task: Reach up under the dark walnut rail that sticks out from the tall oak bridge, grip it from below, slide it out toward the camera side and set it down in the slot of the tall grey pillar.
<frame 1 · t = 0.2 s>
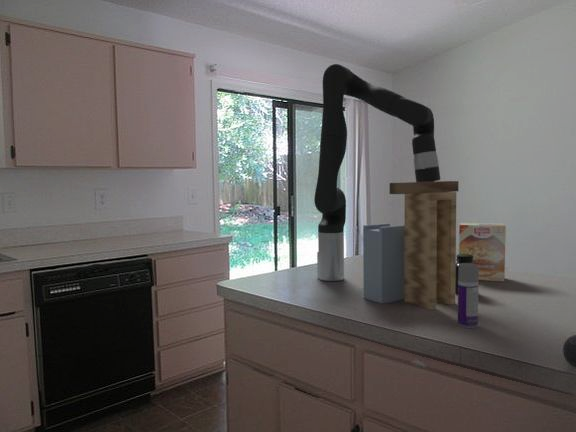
hand: (432, 217, 146), 23 cm above the worktop, tool pointing down, fingers open, 8 cm apart
container: (467, 325, 112), on the worktop
tall grey pillar: (385, 298, 138), on the worktop
rail: (425, 192, 128), point 32 cm above the worktop, touching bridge
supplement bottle: (464, 293, 142), on the worktop
coffeecake box: (481, 278, 162), on the worktop
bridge: (429, 302, 132), on the worktop
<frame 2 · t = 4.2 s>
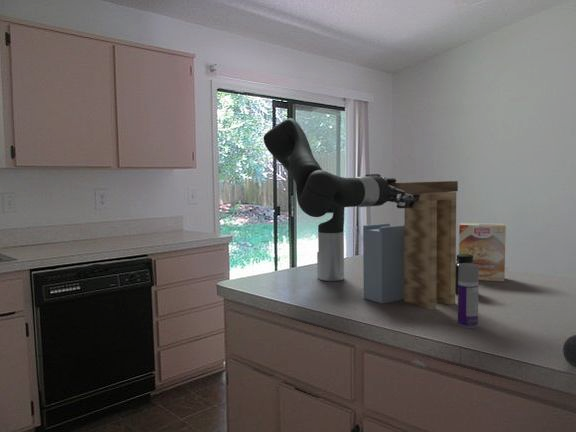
hand: (405, 189, 123), 33 cm above the worktop, tool horizontal, fingers open, 8 cm apart
nothing on the worktop moved.
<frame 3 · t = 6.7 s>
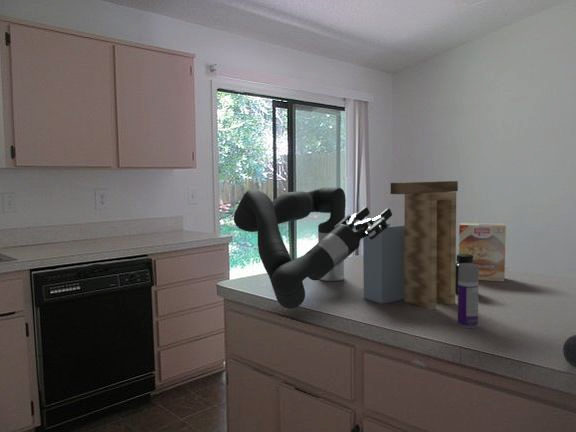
hand: (378, 210, 119), 28 cm above the worktop, tool pointing upward, fingers open, 8 cm apart
nothing on the worktop moved.
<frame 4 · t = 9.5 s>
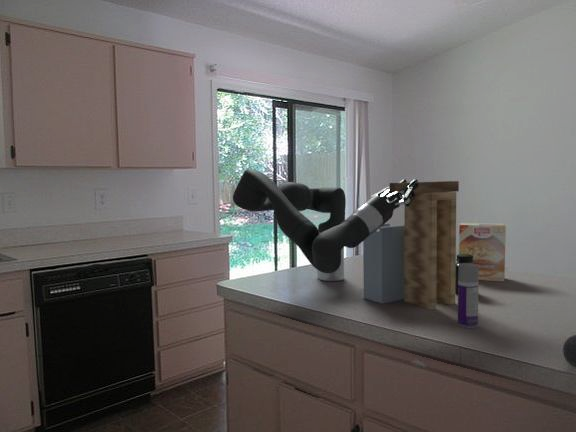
hand: (411, 182, 125), 35 cm above the worktop, tool pointing upward, fingers closed on rail, 3 cm apart
rail: (425, 192, 128), point 32 cm above the worktop, touching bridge, gripper
everything else where it was.
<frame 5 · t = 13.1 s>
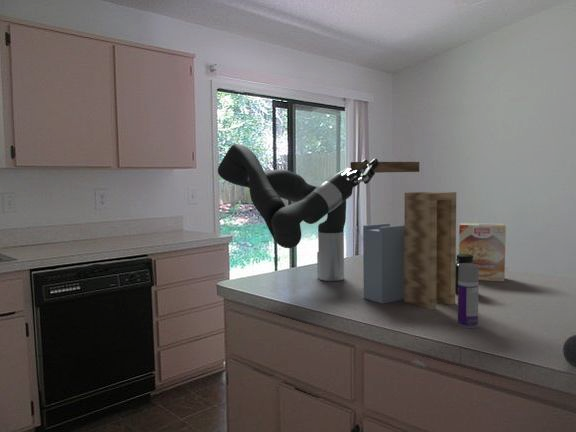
hand: (372, 161, 129), 41 cm above the worktop, tool pointing upward, fingers closed on rail, 3 cm apart
rail: (386, 172, 132), point 38 cm above the worktop, touching gripper
everything else where it was.
when the fingers open (25 cm above the worktop, at t = 16.8 s): rail drops 1 cm, resting on tall grey pillar.
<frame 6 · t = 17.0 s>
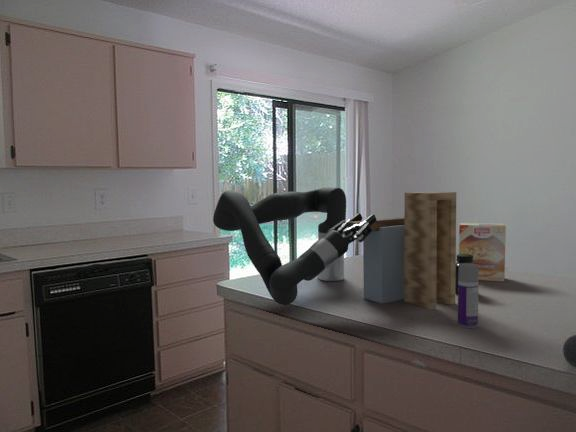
hand: (367, 216, 132), 25 cm above the worktop, tool pointing upward, fingers open, 5 cm apart
rail: (382, 229, 136), point 21 cm above the worktop, touching tall grey pillar
everything else where it was.
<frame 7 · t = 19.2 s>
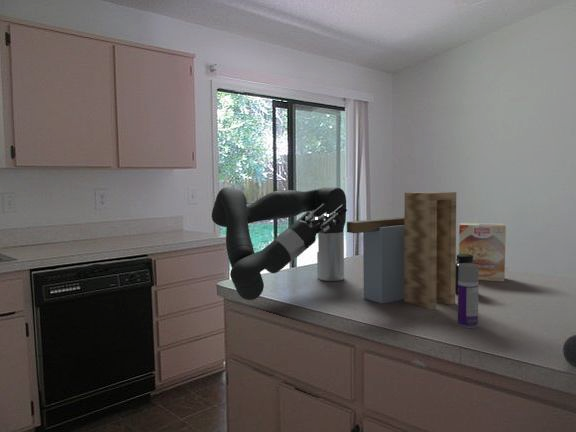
hand: (335, 206, 127), 29 cm above the worktop, tool pointing upward, fingers open, 8 cm apart
nothing on the worktop moved.
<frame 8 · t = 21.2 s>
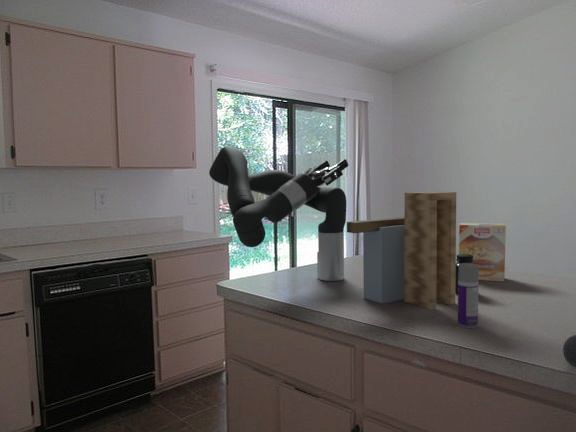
hand: (337, 162, 129), 41 cm above the worktop, tool pointing upward, fingers open, 8 cm apart
nothing on the worktop moved.
at the end: rail inside the target area on the tall grey pillar (0.1 cm from its centre), point 21.0 cm above the tall grey pillar's base; the gripper is holding nothing; rail touching tall grey pillar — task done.
